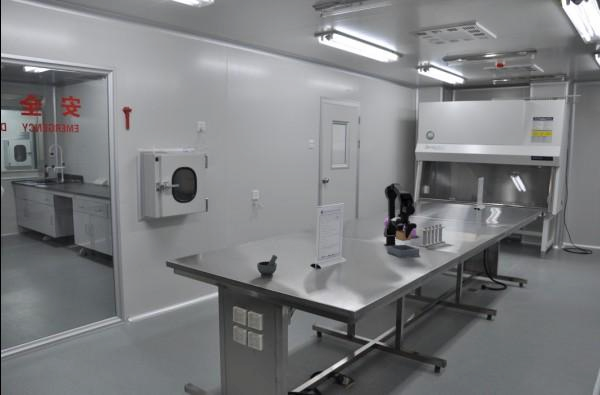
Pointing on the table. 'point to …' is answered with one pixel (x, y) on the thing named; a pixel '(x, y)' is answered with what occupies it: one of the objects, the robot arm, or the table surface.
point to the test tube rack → (432, 235)
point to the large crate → (403, 250)
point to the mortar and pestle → (267, 267)
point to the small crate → (402, 235)
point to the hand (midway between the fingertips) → (403, 237)
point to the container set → (413, 232)
